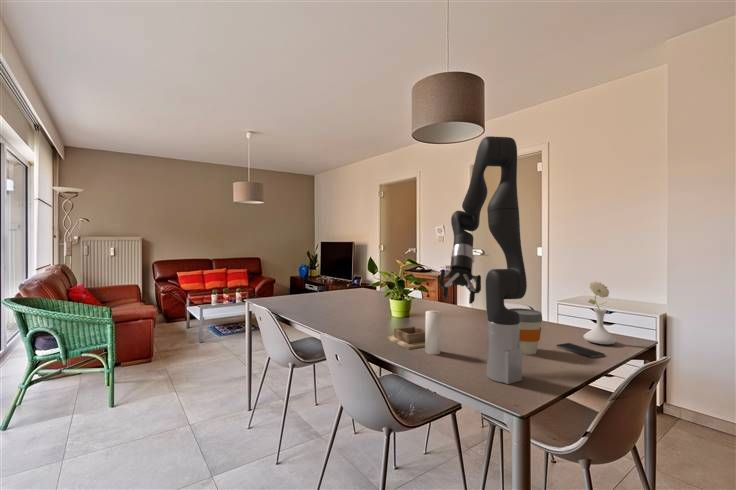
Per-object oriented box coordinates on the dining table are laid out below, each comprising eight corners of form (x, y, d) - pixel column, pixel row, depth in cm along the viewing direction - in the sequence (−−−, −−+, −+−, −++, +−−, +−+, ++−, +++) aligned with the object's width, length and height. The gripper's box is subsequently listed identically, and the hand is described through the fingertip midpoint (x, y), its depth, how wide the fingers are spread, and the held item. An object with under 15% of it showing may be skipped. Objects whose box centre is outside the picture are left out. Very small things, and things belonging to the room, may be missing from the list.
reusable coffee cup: (545, 357, 130) (546, 315, 129) (508, 354, 132) (509, 314, 132) (536, 347, 142) (537, 309, 142) (503, 344, 144) (503, 307, 144)
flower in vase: (623, 347, 143) (624, 284, 142) (593, 346, 143) (595, 283, 143) (602, 337, 156) (603, 280, 155) (575, 337, 156) (576, 279, 156)
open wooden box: (437, 344, 144) (437, 333, 144) (408, 349, 138) (408, 337, 138) (414, 334, 159) (414, 324, 158) (387, 338, 152) (387, 327, 152)
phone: (591, 356, 129) (555, 344, 143) (591, 359, 129) (555, 347, 143) (606, 354, 132) (569, 342, 146) (606, 357, 132) (569, 345, 146)
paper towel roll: (443, 353, 133) (444, 312, 133) (431, 355, 131) (431, 314, 130) (434, 349, 138) (434, 309, 138) (422, 351, 136) (422, 311, 135)
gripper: (443, 251, 129) (438, 293, 122) (484, 257, 127) (481, 300, 120) (440, 260, 136) (436, 300, 128) (479, 266, 134) (476, 308, 127)
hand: (458, 300), depth 124 cm, fingers open, 8 cm apart
